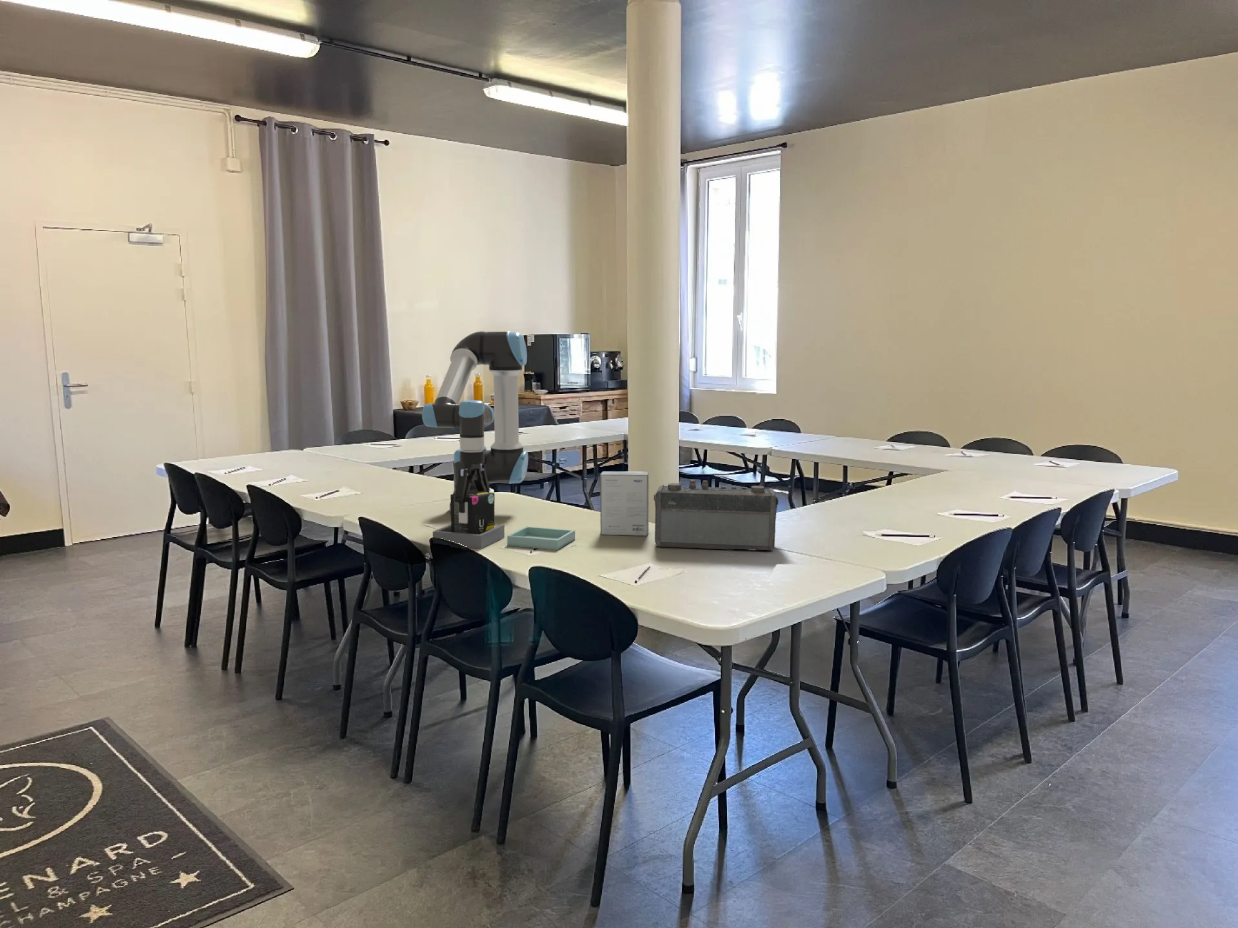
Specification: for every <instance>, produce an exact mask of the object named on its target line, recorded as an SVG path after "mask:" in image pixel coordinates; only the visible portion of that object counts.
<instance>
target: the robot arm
mask: <svg viewBox="0 0 1238 928" xmlns="http://www.w3.org/2000/svg"><path fill="white" fill-rule="evenodd" d="M527 350H528V349H527V345H526V341H525V339H524V336H523V335H522V333H520V332H516V331H481V330H480V331H477V332H473V333H470V334H468V335H467V336H465V337H464V338H462V339H461V340H460V341H459V342H458V343H457V344H456V345H455V346H454V347H453V350H452V351H451V353H450V357H449V359H450V364H449V366H448V369H447V372H446V374H445V377H444V378H443V381H442V384H441V386H440V388H439V390H438V393H437V396H436V398H435V400H434V402H432V403H426V404H424V405H423V407H422V410H421V411H422V412H421V418H422V423H423V425H424V426H426V427H428V428H437V429H439V428H443V429H447V428H448V429H449V428H451V429H453V428H455V429H456V428H458V429H459V440H458V441H459V449H457V450H455V451H454V452H453V462H452V464H453V492H452V494H455V498H454V500H455V502H459V523H468V502H466V500H467V496H468V493H469V491H471V490H475V491H483V492H489V493H490V492H491V491H490V490H491V489H490V485H489V483H491V484H492V483H495V484H497V483H499V484H500V483H501V484H509V485H511V484H521V483H522V482H523V481H524V479H525V477H526V475H527V471H528V465H529V452H527V451H526V450H524V445H523V444H522V443H521V442H520V439H519V437H520V433H519V432H520V429H519V427H520V426H519V375H520V373H521V372H522V371H523V367H524V366H526V364H527V363H528V362H527V361H528V352H527ZM480 365H483V366H486V365H487V366H488V370H489V372H490V373H491V374H492V375H493V408H492V407H491V406H490V405H488V404H485V403H484V402H483V401H482V400H476V399H475V400H473V399H471V400H469V399H468V400H462V401H461V399H462V397H463V393H464V391H465V389H466V386H467V383H468V381H469V379H470V376H471V373H472V372H473V371H474V370H475V369H476V368H477V367H478V366H480ZM492 423H494V442H493V443H492V444H491V445H490V450H487V447H486V445H485V429H486V428H487V427H490V425H491V424H492ZM449 512H450V513H451V501H450V502H449Z"/></svg>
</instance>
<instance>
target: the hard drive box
mask: <svg viewBox="0 0 1238 928" xmlns="http://www.w3.org/2000/svg"><path fill="white" fill-rule="evenodd" d="M649 474H650V473H649V471H628V470H627V471H615V470H614V471H613V470H612V471H605V470H604V471H602V472H601V473H600V475H599V484H600V486H599V490H600V491H599V496H600V500H599V502H600V505H599V506H600V507H599V508H600V511H599V513H600V515H599V516H600V517H599V518H600V519H599V520H600V524H599V525H600V533H599V534H600V536H601V535H603V536H604V535H605V536H606V535H608V536H645V537H646V536H648V535H649V530H650V529H649V525H650V524H649V521H650V520H649V515H650V514H649V511H650V510H649V505H650V502H649V493H650V491H649V487H650V485H649V483H650V482H649Z"/></svg>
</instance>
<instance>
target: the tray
mask: <svg viewBox="0 0 1238 928" xmlns="http://www.w3.org/2000/svg"><path fill="white" fill-rule="evenodd" d="M506 540H507V541H506V545H507V546H508V547H520V548H529V547H535V548H534V549H542V550H551V551H554V550H555V551H559V550H560V549H562V548H564V547H566V546H567V545H569V544H570V543H572V542H573V541H575V540H576V530H573V529H563V528H562V529H561V528H549V527H538V526H524V527H523V528H520V529H519V530H516V531H515V532H513V533H510V534H508V535H507V536H506Z"/></svg>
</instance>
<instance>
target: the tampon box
mask: <svg viewBox="0 0 1238 928" xmlns="http://www.w3.org/2000/svg"><path fill="white" fill-rule="evenodd" d="M454 498H455V494H453V493H452V494H450V502H451V512H450V524H451V532H455V533H467V534H478V535H480V534H482V533H484V532H486V531H488V530H491V529H493V528H495V500H496V498H495V492H490V491H489V492H483V491H475V490H471V491H469V493H468V496H467V500H466V502H468V523H459V502H455V500H454Z"/></svg>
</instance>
